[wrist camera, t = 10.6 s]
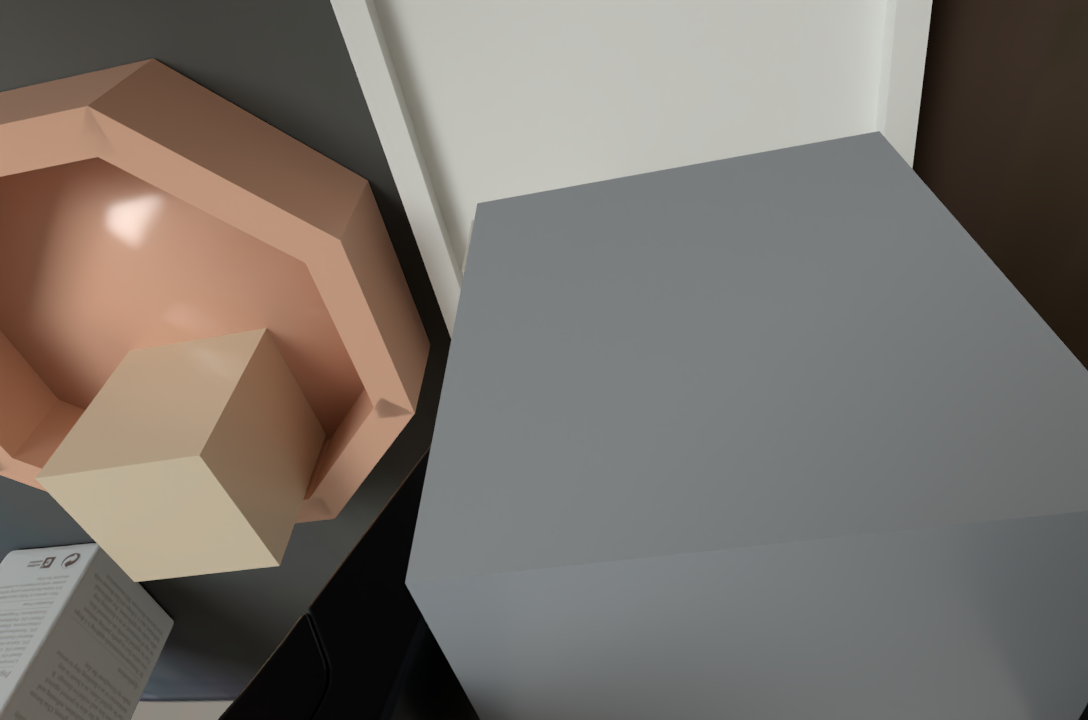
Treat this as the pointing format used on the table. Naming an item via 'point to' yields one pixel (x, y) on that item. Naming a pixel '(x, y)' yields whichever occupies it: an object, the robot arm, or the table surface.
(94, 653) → the skincare box
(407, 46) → the parts tray
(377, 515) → the robot arm
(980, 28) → the table surface
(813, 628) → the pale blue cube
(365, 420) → the terracotta dish
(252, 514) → the cream cube
